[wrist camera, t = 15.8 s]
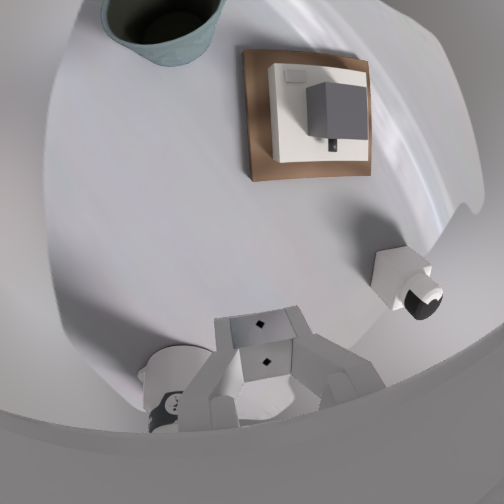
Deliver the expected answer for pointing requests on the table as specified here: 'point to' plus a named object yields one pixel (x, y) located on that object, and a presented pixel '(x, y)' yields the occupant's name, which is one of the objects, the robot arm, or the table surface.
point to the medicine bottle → (406, 282)
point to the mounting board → (261, 117)
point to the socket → (295, 114)
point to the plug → (337, 112)
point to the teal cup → (162, 27)
